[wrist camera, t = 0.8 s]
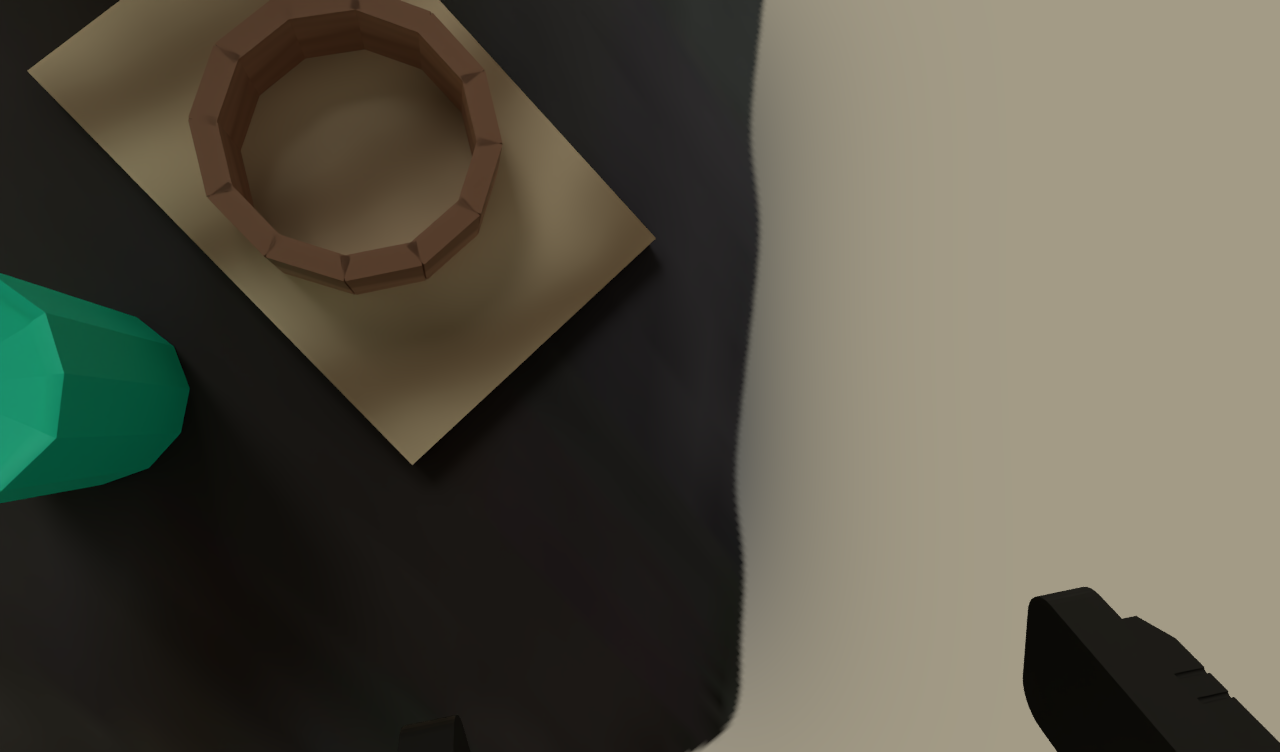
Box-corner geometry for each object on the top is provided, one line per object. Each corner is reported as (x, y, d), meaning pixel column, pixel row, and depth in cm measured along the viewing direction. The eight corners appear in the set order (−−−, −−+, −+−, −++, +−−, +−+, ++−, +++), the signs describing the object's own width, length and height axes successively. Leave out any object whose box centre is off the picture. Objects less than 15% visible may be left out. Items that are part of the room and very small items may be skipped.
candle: (68, 520, 31) (-169, 582, 19) (-43, 375, 30) (-357, 346, 19) (226, 417, 32) (93, 414, 20) (120, 274, 32) (-79, 188, 20)
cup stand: (43, 83, 31) (-23, 30, 27) (314, -124, 33) (293, -204, 29) (414, 463, 33) (407, 470, 29) (649, 244, 35) (675, 219, 31)
